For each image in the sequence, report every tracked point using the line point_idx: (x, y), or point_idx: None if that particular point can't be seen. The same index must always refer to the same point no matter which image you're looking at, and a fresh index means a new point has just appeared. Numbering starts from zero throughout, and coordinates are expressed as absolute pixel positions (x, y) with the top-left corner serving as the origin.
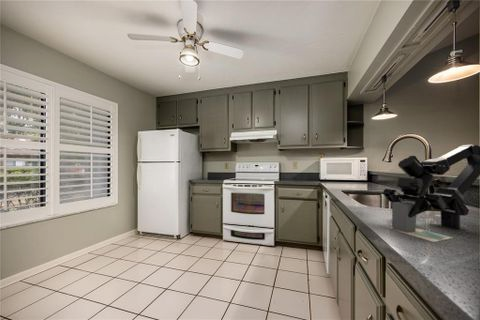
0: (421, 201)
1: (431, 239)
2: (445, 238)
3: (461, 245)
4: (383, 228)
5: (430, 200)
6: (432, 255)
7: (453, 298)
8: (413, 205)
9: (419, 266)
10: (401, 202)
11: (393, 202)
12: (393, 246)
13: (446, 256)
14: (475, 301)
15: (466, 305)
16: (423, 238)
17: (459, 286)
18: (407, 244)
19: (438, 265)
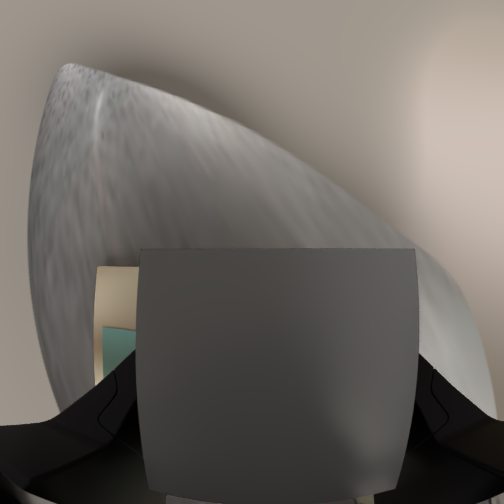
0: (7, 430)
1: (112, 293)
2: (99, 379)
3: (70, 375)
4: None
5: (3, 502)
6: (88, 156)
7: (69, 66)
8: (150, 441)
9: (102, 81)
10: (353, 446)
11: (414, 283)
12: (179, 105)
13: (65, 189)
14: (52, 82)
15: (61, 69)
16: (134, 271)
17: (58, 91)
18: (160, 165)
19: (76, 118)
